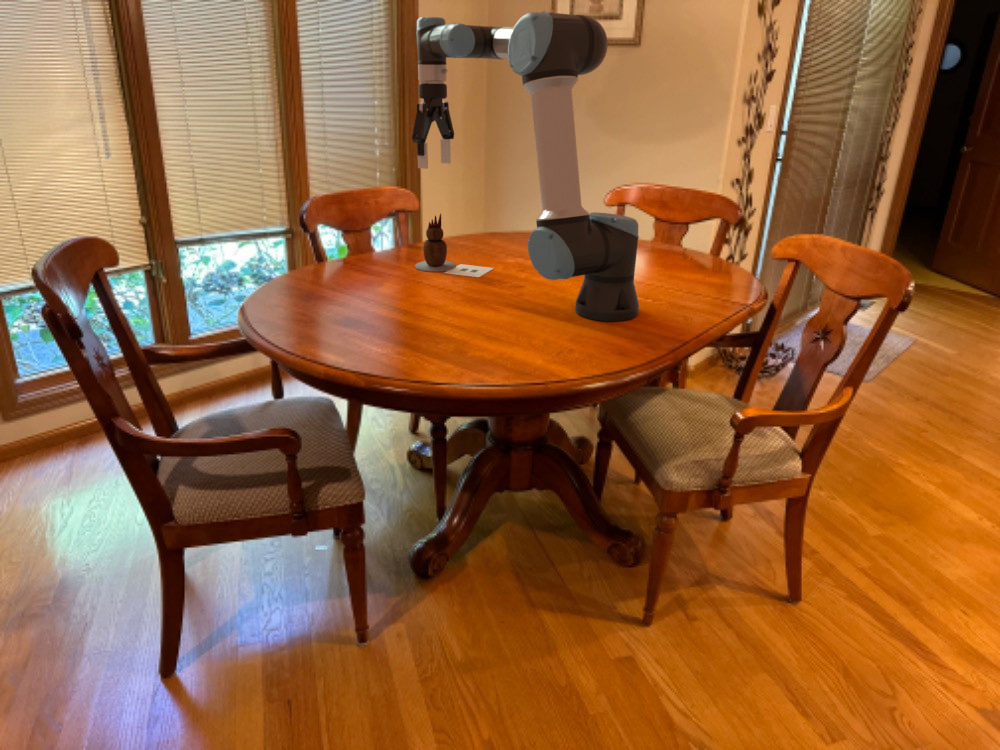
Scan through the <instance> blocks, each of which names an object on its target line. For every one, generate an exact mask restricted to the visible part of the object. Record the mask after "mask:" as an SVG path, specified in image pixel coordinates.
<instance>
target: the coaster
mask: <svg viewBox="0 0 1000 750" xmlns="http://www.w3.org/2000/svg"><path fill="white" fill-rule="evenodd" d="M456 266H457V265H456V263H454V262H452V261H448V260H445V263H444V264H443V265H442V266H430V265H428V264H427V263H426V261H425V260H424V261H420V262H417V263H416V264H414V267H415V269H416V270H418V271H422V272H429V273H440V272H443V273H444V272H446V271H448V270H451V269H454V268H455V267H456Z"/></svg>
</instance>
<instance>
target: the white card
mask: <svg viewBox="0 0 1000 750" xmlns="http://www.w3.org/2000/svg"><path fill="white" fill-rule="evenodd" d="M494 269H495V268H494V267H488V266H479V265H473V264H471V265H470V264H465V263H463V264H461V263H460V264H458V265H456V267H455V268H454V269H451V270H448V271H443V274H447V275H456V276H462V277H463V276H464V277H472V278H480V277H482V276H484V275H486V274H487V273H489V272H491V271H492V270H494Z"/></svg>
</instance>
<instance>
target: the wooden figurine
mask: <svg viewBox="0 0 1000 750" xmlns="http://www.w3.org/2000/svg"><path fill="white" fill-rule="evenodd" d="M437 219H438V220H437ZM425 236H426V238H427V239H426V240H425V241H424V243H423V247H422V248H423V257H424V261H426V263H427V264H428V265H430V266H442V265H443V264H444V263H445V261H447V255H448V245H447V243H446V241H445V240H443V238H444V229H442V213H440V214H439V217H438V218H437V215H434V219H431V222H430V221H428V225H427V228H426V231H425Z"/></svg>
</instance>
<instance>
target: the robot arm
mask: <svg viewBox="0 0 1000 750" xmlns="http://www.w3.org/2000/svg"><path fill="white" fill-rule="evenodd" d="M606 33H607V32H606V30H605V29H604V27H603V25H602V24H601V23H600V22H599V21H598V20H596V19H594V17H591V16H588V15H582V14H570V13H569V14H568V13H557V12H548V11H545V10H544V11H541V12H537V11H536V12H535V11H533V12H527V13H526V14H524V15H522V16H521V17H520V18H518V20H517V21H516V23H515V25H514V26H489V25H487V26H485V25H472V24H465V23H460V22H457V23H456V22H451V23H450V24H449V23H448V24H446V20H445V18H444V17H438V16H422V17H421V16H420V17H419V18H418V19H417V20H416V33H415V35H416V48H417V79H418V82H420V83H419V84H418V98H419V99H423V102H417V103H416V114H415V120H414V123H413V124H414V125H413V130H412V135H411V136H412V137H411V139H412V142H413V143H414V144H415V143H416V148H417V151H416V153H417V154H416V155H417V169H424V170H426V169H427V170H428V169H429V154H428V151H429V150H428V143H427V141H426V140H427V139H428V136H429V133H430V129H431V126H432V124H433V123H434V122H435V123H436V126H437V128H438V131H439V133H440V135H441V138H440V163H441V164H449V165H450V164H451V163H452V162H451V161H452V160H451V155H452V154H451V140H454V139H455V132H454V131H455V130H454V127H453V121H452V117H451V113H450V108H449V107H450V105H449V102H448V101H443V100H446V99H447V97H448V85H447V84H446V83H445V82H447V73H448V69H447V58H448V59H449V58H450V59H451V58H452V59H485V60H486V59H488V60H508V63H509V66H510V68H511V69H512V71H513V72H514V74H516V75H518V76H519V77H520V76H521V80H522V82H521V83H522V88H523V89H524V90H525V91H526V92H528V93H529V95H530V98H531V99H530V100H531V107H532V110H531V111H532V117H533V118H532V119H533V128H534V139H535V148H536V149H535V150H536V159H537V160H536V161H537V169H538V179H539V180H538V181H539V191H540V202H541V211H540V214H539V215H537V218H536V219H535V221H536V222H535V223H536V228H535V229H533V230H532V231H531V232H530V234H529V238H528V240H527V253H528V256H529V259H530V262H531V264H532V266H533V267H534V270H535V271H537V273H538V274H539V275H540V276H541V277H542V278H544V279H546V280H551V281H557V280H558V281H559V280H568V279H571V278H574V277H581V276H584V278H583V282H582V283H581V287H580V288H579V291H578V294H577V297H576V298H575V303H574V304H575V306H574V309H575V310H574V312H575V313H576V314H577V315H579V316H581V317H583V318H587V319H590V320H595V321H600V322H601V321H602V322H622V321H623V322H624V321H629V320H632V319H634V318H636V317H637V316H638V315H639V309H640V302H639V300H638V299H639V298H638V294H637V290H636V286H635V272H636V264H637V253H638V244H639V243H638V242H639V238H640V236H639V223H638V220H637V219H635V218H634V217H631V216H627V215H626V216H625V215H621V214H615V213H607V212H596V211H594V212H590V213H589V211H587V210H586V209H585V208H584V207H583V206H582V196H581V184H580V172H579V161H578V150H577V149H578V148H577V137H576V128H575V127H576V126H575V125H576V123H575V112H574V103H573V102H574V101H573V88H574V86H575V85H577V83H578V81H579V76H582V75H587V74H590V73H593V72H594V71H595V70H596V69H598V67H600V65H602V63H603V61H604V60H605V57H606V55H607V52H608V46H609V43H608V40H609V39H608V36H607V34H606Z"/></svg>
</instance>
